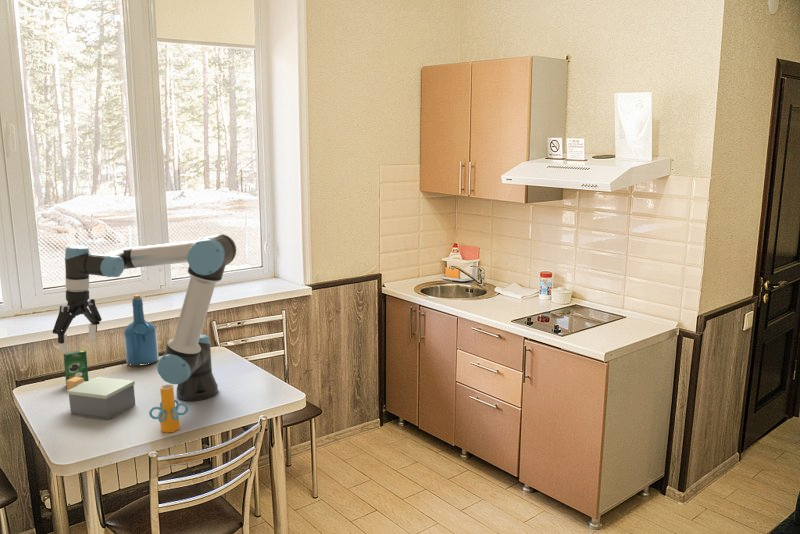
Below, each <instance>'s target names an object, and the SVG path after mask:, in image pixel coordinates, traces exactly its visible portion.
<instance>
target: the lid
mask: <svg viewBox="0 0 800 534" xmlns="http://www.w3.org/2000/svg"><path fill="white" fill-rule="evenodd" d="M88 380H89V381H87V382H86V381H84V378H81V377H73V378H71V379H69V380H67V385H66V388H67V390H66V393H67V395H69V394H71V395H79V396H87V397H94V398H102V399H107V398H109V397H111V396H113V395H115V394H117V393H119V392H121V391H123V390H124V389H126V388H128V387H130V386H132V385H135V384H136V381H135V380H128V379H120V378H112V377H110V378H109V377H104V376H103V377H102V376H96V377H94V378H92V379H88Z"/></svg>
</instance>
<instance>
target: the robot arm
mask: <svg viewBox="0 0 800 534" xmlns="http://www.w3.org/2000/svg"><path fill="white" fill-rule="evenodd" d="M64 255H65V256H64V263H65V264H64V265H65V266H64V267H65V268H64V269H65V289H66V290H65V300H66V302H67V304H66V305H60V306H59V312H58V315H57V318H56V320H55V324H54V326H53V329H52V334H55V335H57V342H58V344H59V345H58V346H59V348H58V349H59V350H58V351H59V352H63V353H68V335H67V334H68V333H66V332H67V330H68V329H69V327H70V325H71V323H72V321H73V320H74V319H75V318H76V317H77V316H79V315H83V316H84V317H85V318H86V319H87V320H88V321H89V323H88V342H93V343H96V342H97V332H98V325H100V322H102V319H103V318H102V316H101V314H100V312H99V309H98V307H97V305H96V300H95V298H90V290H89V289H90V275H91V276H100V277H106V278H117V277H120V276H121V275H122V274H123V272H124V270H128V269H137V268H144V267H153V266H154V267H155V266H162V265H163V266H165V265H173V264H174V265H175V264H184V263H187V264H188V269H187V273H188V275H189V276H190V278H189V281H188V285H187V288H186V289H187V290H186V293H185V297H184V299H183V304H182V307H181V311H180V314H179V318H178V321H177V324H176V329H175V332H174V335H173V337H172V338H170V339H169V340H168V341H167V343H166V349H165V351H164V354H163V355H161V357H160V358H159V359H158V360H157V364H156V368H157V369H156V370H157V373H158V375H159V376H160V378H161V379H162V380H163V381H164V382H166V383H167V384H169V385H177V386H176V397H177V399H180V400H182V401H190V402H191V401H194V402H195V401H203V400H207V399H209V398H213V397H214V396H215V395H217V394H218V392H219V387H218V386H219V385H218V383H217V381H216V379H215V377H214V374H213V369H212V366H213V365H212V354H211V353H212V350H211V349H212V348H211V345H212V344H211V342H210V341H211V339H210V337H209V336H208V335H207V334H202V332H203V327H204V324H205V322H206V318H207V315H208V310H209V308H210V304H211V301H212V297H213V293H214V290H215V286H216V284H217V283H218V282H221V281H222V278H223V275H224V272H225V269H226V266H228V265H229V264H230V263H232V262H233V260H234V259H235V258H236V255H237V245H236V243H235V241H234V239H232V238H231V237H230V236H228V235H226V234H223V233H217V234H215V233H214V234H212V235H209V236H202V237H199V238H198V239H197V240H191V241H181V242H179V241H178V242H172V243H163V244H154V245H145V246H135V247H134V246H133V247H132V246H131V247H129V246H125V247H120V248H118V249H116V250H112V251H109V252H106V253H104V254H103V253H91V252H90V249H89V247H88V246H86V245H77V244H76V245H75V244H74V245H70V246H67V247H66V248H65V254H64Z"/></svg>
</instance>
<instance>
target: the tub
mask: <svg viewBox="0 0 800 534" xmlns="http://www.w3.org/2000/svg"><path fill="white" fill-rule="evenodd" d="M134 385H135V384H134ZM134 385H132V386H130V387H128V388H126V389H124V390H123V391H121V392H119V393H117V394H115V395H113V396H111V397H109V398H107V399H102V398H94V397H87V396H79V395H71V394H68V398H69V399H68V400H69V406H70V407H69V408H70V415H71V416H76V417H83V418H89V419H95V420H97V419H98V420H104V421H110V420H111V419H114V418H115V417H117V416H119V415H120V414H122V413H124V412H126V411H127V410H129V409H131V408H133V407H135V406H136V398H135V387H134Z"/></svg>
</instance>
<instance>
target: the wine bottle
mask: <svg viewBox="0 0 800 534" xmlns="http://www.w3.org/2000/svg"><path fill="white" fill-rule="evenodd" d="M132 296H133V298H132V301H131V302H132V315H133V319H132V320H133V321H132V322H131V323H128V325H126V327H125V328H124V330H123V341H124V353H125V361H126V364H128V365H129V364H131V365H130V366H132V365H140V364H148V363H149V365H151V364H150V363H152V364H154V363H156V362H158V360H159V356H160V355H159V346H158V336H157V335H158V334H157V327H156V326H155V325H154V324H153V323H152V322H149V321H147V320H146V319H145V314H144V303H143V298H142V297H141V295H140V294H134V295H132ZM157 359H158V360H157ZM155 361H156V362H155ZM153 362H154V363H153Z"/></svg>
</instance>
